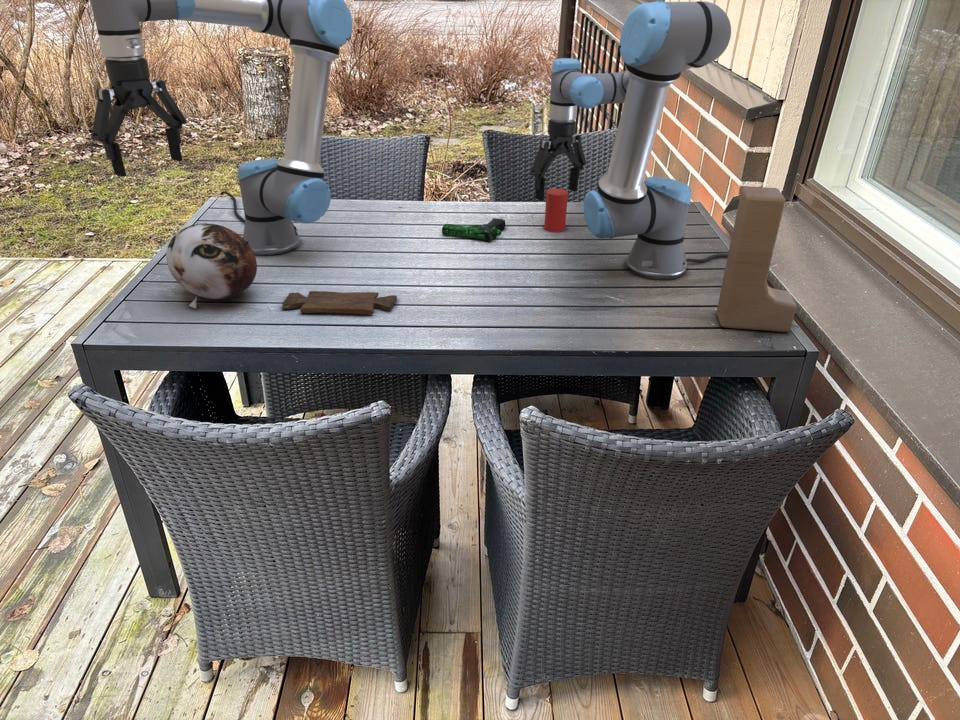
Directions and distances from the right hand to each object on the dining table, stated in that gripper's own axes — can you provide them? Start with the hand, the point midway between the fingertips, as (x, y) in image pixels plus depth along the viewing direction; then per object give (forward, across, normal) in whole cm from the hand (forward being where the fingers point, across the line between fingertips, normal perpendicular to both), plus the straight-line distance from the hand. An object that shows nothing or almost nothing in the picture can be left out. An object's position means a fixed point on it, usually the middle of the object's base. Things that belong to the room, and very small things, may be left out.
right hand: (556, 195), depth 207 cm
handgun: (+10, +21, -11) cm, 26 cm away
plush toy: (+10, +96, -15) cm, 98 cm away
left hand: (-22, +105, -17) cm, 108 cm away
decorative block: (+9, +8, +71) cm, 72 cm away
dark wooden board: (+9, +76, +7) cm, 77 cm away
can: (+10, 0, 0) cm, 10 cm away
